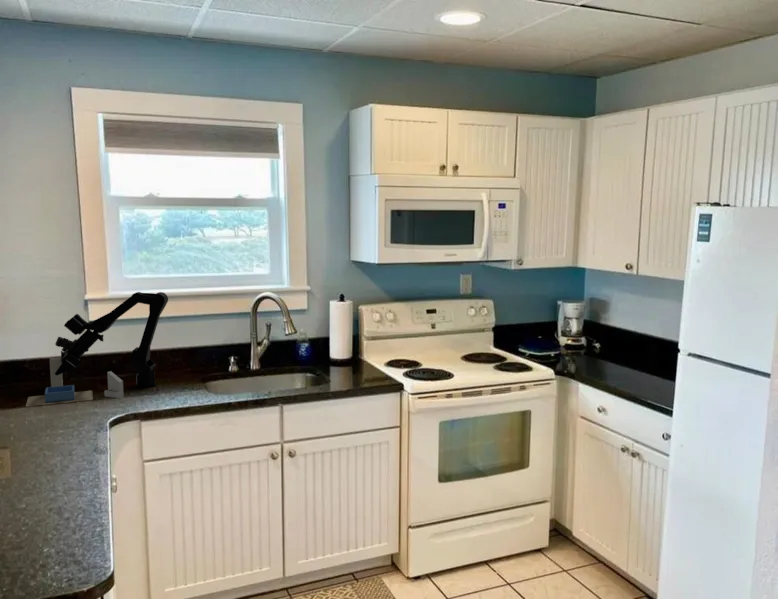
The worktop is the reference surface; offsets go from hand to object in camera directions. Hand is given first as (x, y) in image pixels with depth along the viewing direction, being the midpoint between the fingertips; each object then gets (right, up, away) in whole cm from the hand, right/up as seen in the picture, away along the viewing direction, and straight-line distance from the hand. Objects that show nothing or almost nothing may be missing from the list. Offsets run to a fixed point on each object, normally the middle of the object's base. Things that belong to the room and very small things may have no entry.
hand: (55, 372), depth 255 cm
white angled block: (+27, -9, -9) cm, 30 cm away
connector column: (0, -8, +1) cm, 8 cm away
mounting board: (+9, -9, -13) cm, 18 cm away
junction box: (+9, -8, -13) cm, 18 cm away
